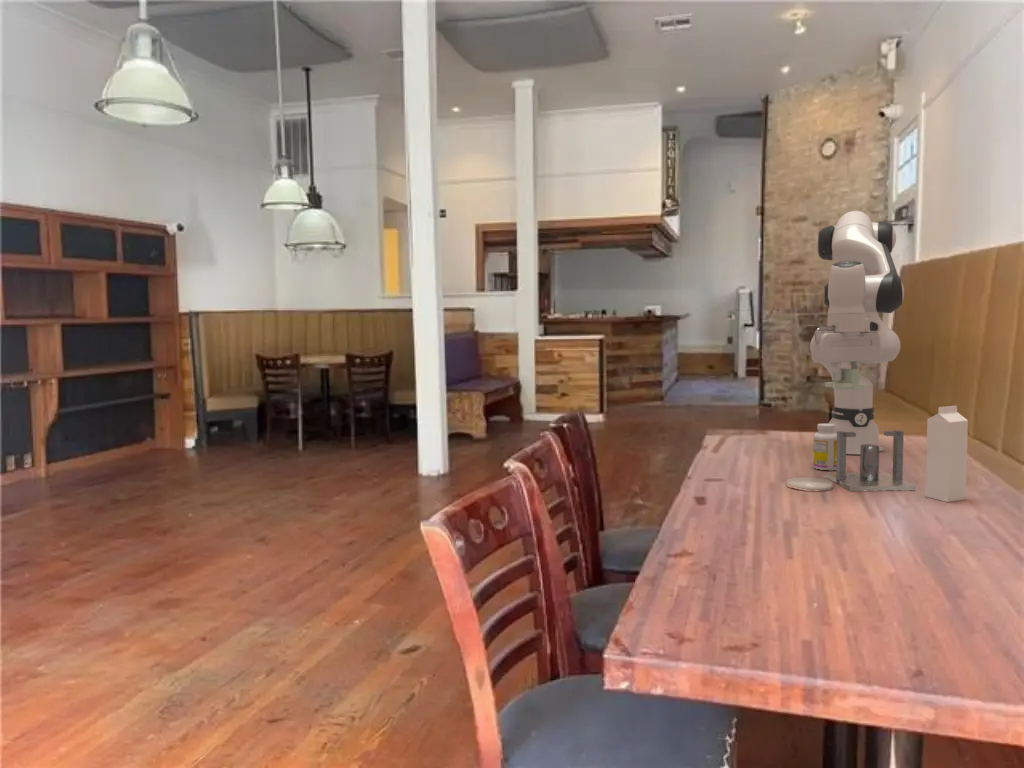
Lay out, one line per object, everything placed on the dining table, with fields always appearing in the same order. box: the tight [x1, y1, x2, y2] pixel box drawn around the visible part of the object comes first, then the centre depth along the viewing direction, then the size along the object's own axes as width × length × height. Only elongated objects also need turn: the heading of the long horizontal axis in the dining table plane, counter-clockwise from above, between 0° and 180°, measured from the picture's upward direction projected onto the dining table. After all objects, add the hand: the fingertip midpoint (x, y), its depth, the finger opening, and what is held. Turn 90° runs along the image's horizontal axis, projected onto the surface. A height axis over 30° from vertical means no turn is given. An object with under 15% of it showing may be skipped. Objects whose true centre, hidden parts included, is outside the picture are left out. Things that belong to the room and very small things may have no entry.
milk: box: [925, 405, 969, 503], centre depth 177 cm, size 6×6×22 cm
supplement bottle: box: [813, 423, 837, 472], centre depth 212 cm, size 7×7×13 cm
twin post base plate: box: [825, 429, 917, 492], centre depth 193 cm, size 16×16×14 cm
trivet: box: [786, 476, 834, 492], centre depth 193 cm, size 11×11×1 cm
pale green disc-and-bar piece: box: [824, 368, 868, 390], centre depth 190 cm, size 6×11×5 cm, turn 28°
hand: (845, 379), depth 190 cm, fingers closed on pale green disc-and-bar piece, 3 cm apart
